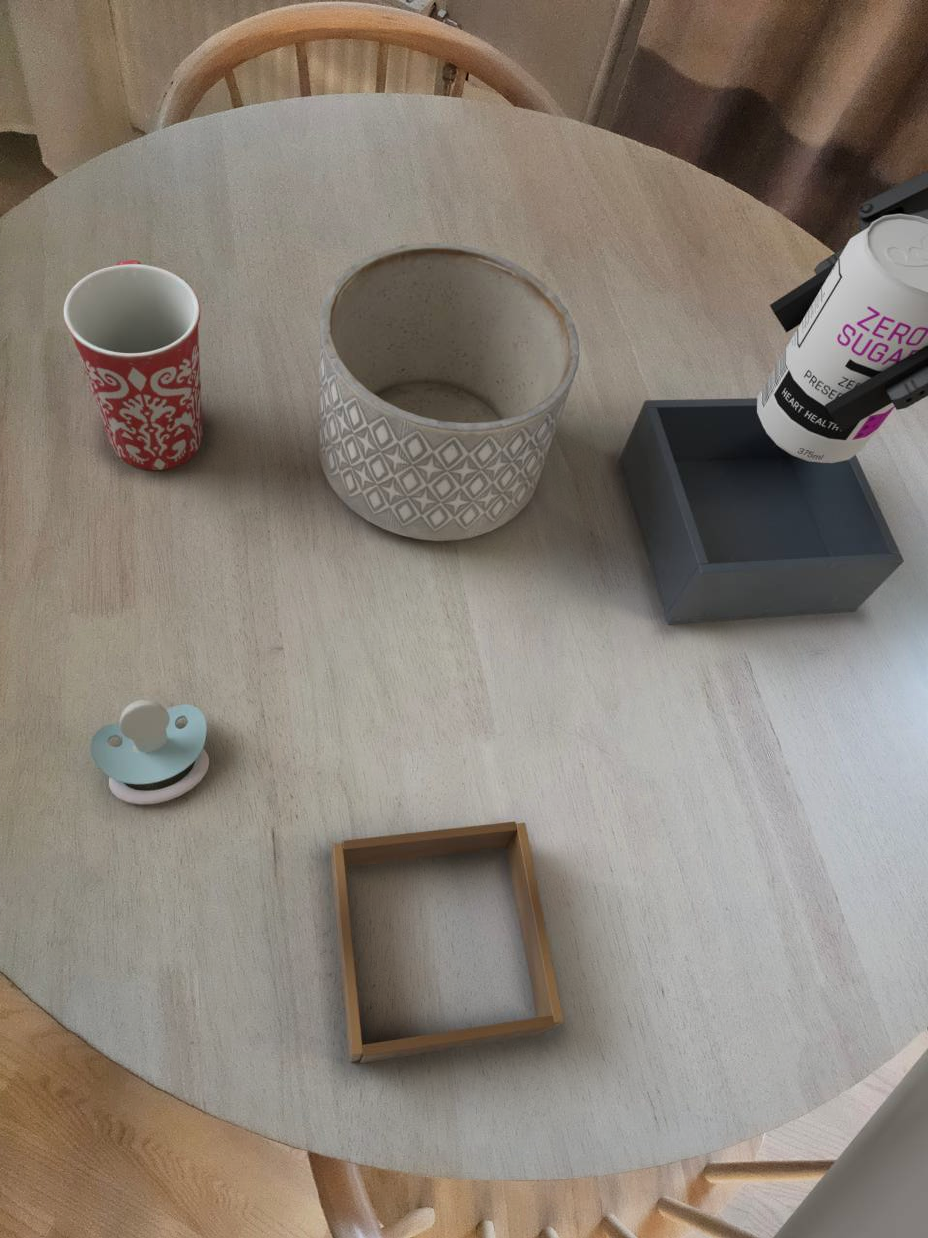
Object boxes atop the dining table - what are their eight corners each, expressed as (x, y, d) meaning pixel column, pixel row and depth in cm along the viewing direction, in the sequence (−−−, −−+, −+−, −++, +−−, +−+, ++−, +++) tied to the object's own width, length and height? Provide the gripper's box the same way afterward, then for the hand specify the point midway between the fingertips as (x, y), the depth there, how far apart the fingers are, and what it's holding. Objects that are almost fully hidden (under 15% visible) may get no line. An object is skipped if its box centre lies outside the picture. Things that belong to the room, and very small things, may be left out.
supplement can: (836, 380, 71) (953, 207, 58) (878, 467, 67) (1013, 301, 55) (738, 383, 70) (836, 205, 57) (774, 472, 66) (889, 302, 53)
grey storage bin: (854, 611, 78) (904, 561, 72) (667, 625, 75) (701, 573, 68) (790, 454, 86) (829, 396, 80) (618, 460, 83) (645, 399, 76)
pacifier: (223, 787, 63) (200, 708, 66) (217, 754, 58) (192, 669, 60) (110, 821, 61) (91, 738, 63) (92, 791, 56) (72, 701, 58)
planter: (360, 576, 73) (371, 455, 61) (289, 399, 81) (286, 260, 68) (573, 521, 79) (623, 401, 66) (487, 361, 87) (518, 227, 74)
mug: (220, 476, 76) (205, 351, 64) (100, 485, 74) (63, 358, 62) (207, 361, 82) (191, 227, 70) (96, 366, 80) (61, 229, 68)
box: (549, 1033, 58) (564, 1024, 55) (349, 1065, 56) (352, 1058, 52) (513, 838, 64) (524, 820, 61) (330, 859, 62) (332, 841, 58)
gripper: (1302, 302, 51) (888, 514, 61) (1088, 70, 60) (762, 286, 70) (1319, 221, 45) (859, 470, 55) (1080, -21, 54) (725, 228, 64)
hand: (805, 366), depth 62 cm, fingers closed on supplement can, 8 cm apart
